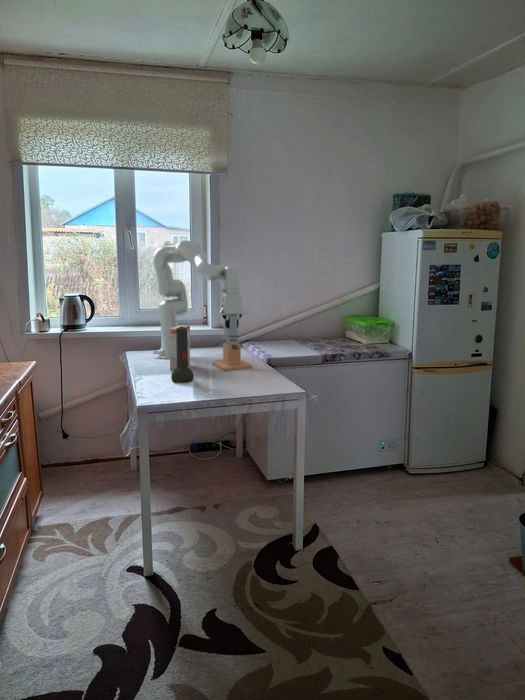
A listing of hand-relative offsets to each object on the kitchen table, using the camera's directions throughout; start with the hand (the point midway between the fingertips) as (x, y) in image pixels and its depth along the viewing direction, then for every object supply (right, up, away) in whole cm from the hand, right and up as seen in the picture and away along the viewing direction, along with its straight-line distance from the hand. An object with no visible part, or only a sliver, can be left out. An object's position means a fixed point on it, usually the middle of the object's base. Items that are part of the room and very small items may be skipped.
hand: (231, 327), depth 255 cm
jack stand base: (0, -20, +4) cm, 20 cm away
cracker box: (-26, -21, -1) cm, 33 cm away
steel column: (0, -12, +2) cm, 12 cm away
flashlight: (-21, -26, -27) cm, 42 cm away
